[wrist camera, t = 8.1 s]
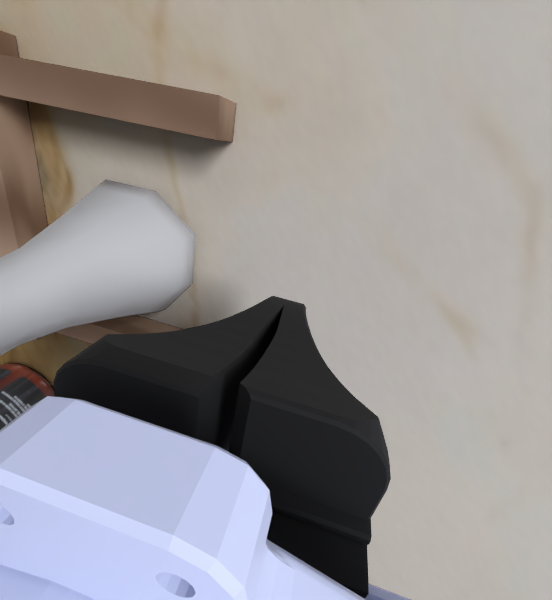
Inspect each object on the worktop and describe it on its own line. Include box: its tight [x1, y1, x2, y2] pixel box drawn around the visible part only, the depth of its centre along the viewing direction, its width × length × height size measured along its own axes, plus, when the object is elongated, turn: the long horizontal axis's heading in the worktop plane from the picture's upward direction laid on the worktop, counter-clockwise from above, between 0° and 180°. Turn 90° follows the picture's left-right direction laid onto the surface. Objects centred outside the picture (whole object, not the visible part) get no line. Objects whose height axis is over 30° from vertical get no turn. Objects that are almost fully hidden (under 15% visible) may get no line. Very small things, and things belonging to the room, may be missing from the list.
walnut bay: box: [0, 31, 236, 344], centre depth 16 cm, size 16×12×2 cm
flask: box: [0, 180, 195, 355], centre depth 13 cm, size 7×7×10 cm
